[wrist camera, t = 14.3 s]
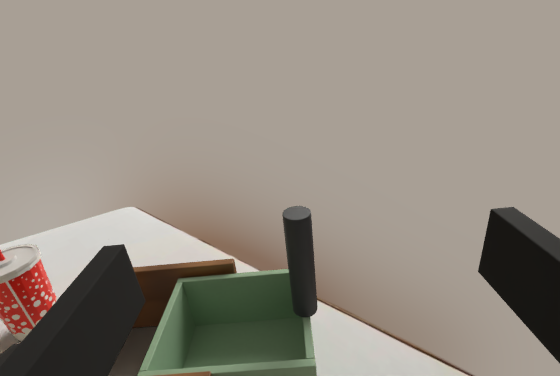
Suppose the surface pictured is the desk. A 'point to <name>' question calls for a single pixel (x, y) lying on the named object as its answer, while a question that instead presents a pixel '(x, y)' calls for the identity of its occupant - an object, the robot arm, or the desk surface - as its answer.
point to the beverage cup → (23, 289)
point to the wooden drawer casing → (161, 284)
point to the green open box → (243, 317)
